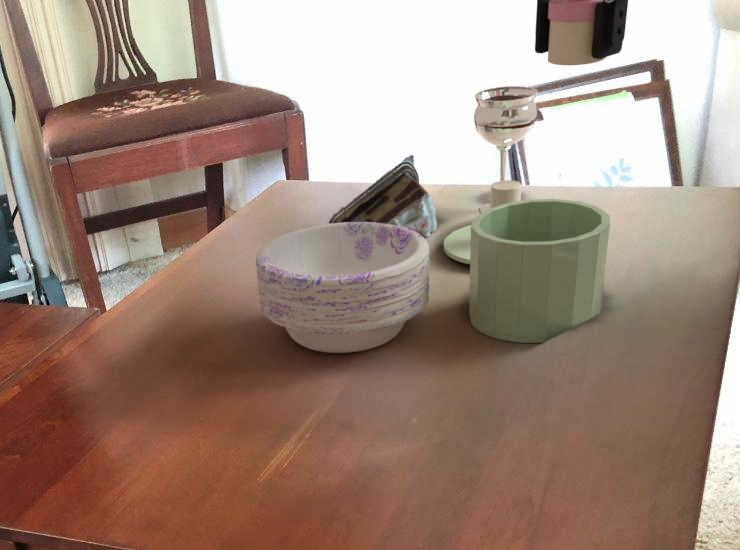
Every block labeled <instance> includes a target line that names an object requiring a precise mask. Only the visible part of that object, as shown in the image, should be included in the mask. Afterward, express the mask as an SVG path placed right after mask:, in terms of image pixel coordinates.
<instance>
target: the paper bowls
mask: <svg viewBox="0 0 740 550" xmlns="http://www.w3.org/2000/svg"><path fill="white" fill-rule="evenodd" d="M255 268H256V275H257V289H258V290H257V291H258V296H259V305H260V309H261V312H262V315H264V317H266V318H267V319H268V320H270V321H271V322H272V323H273V324H276V325H278V326H280V327H282V328H284V329H285V330H286V331H287V333H288V335H289V336H290V338H291V339H292V340H293V341H295V342H296V344H298V345H300V346H301V347H304V348H306V349H309V350H313V351H315V352H316V351H317V352H322V353H330V354H346V353H347V354H348V353H349V354H350V353H356V352H363V351H367V350H371V349H374V348H377V347H379V346H382V345H384V344H386V343H388V342H389V341H392V340H393V339H394V338H395V337H396V336H397V335H398V334H399V333H400V332H401V331H402V330H403V329H402V328H403V327H404V325H405V323H406V321H409V320H410V319H412V318H414V317H415V316H417V315H418V314H419V313H421V312H422V311H423V310H424V309H425V308H426V306H427V305H428V303H429V302H430V246H429V243H428V241H427V240H426V237H424V236H422V235H421V234H419V233H417V232H415V231H413V230H410V229H408V228H404V227H400V226H396V225H390V224H385V223H375V222H343V223H331V224H328V223H323V224H318V225H317V224H316V225H311V226H307V227H303V228H298V229H295V230H291V231H289V232H286V233H283V234H280V235H278V236H276V237H274V238H272V239H271V240H269V241H267V242H266V243H265V244H263V245H262V246H261V247H260V248H259V250H258V251H257V254H256V257H255Z"/></svg>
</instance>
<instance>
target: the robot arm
mask: <svg viewBox="0 0 740 550" xmlns="http://www.w3.org/2000/svg"><path fill="white" fill-rule="evenodd" d="M549 1H550V0H536V16H535V32H534V33H535V38H534V39H535V40H534V52H535V53H536V54H545V53H548V48H549V32H550V19H548V9H549ZM628 7H629V0H603V1H602V2H599V3H597V5H596V8H595V18H594V29H593V41H592V52H591V55H592V56H593V58H594V59H602V58H605V57H606V58H608V57H611V56H614V55H617V54H619V53H621V51H622V49H623V43H624V39H625V35H626V24H627V16H628ZM606 58H605V59H606Z"/></svg>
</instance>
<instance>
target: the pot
mask: <svg viewBox="0 0 740 550" xmlns="http://www.w3.org/2000/svg"><path fill="white" fill-rule="evenodd" d="M470 225H471V249H470V264H469V300H468V301H469V304H468V305H469V307H468V316H469V321H470V323H471V325H472V326H473V328H474V329H475V330H477V331H478V332H480V333H482V334H484V335H485V336H488V337H491V338H493V339H497V340H501V341H506V342H512V343H521V344H542V343H547V342H548V341H551V340H552V339H554V338H556V337H558V336H560V335H562V334H564V333H565V332H568V331H569V330H571V329H573V328H576V327H577V326H579V325H581V324H583V323H584V322H586V321H589V320H591V319H592V318H594V317H596V316H598V315H600V314H601V310H602V301H603V300H602V299H603V290H604V283H605V282H604V281H605V274H606V273H605V272H606V263H607V254H608V247H609V237H610V227H611V219H610V214H609V213H608V212H606V211H605V210H604V209H602V208H600V207H599V206H597V205H593V204H590V203H586V202H583V201H579V200H569V199H560V198H540V199H539V198H538V199H524V200H521V201H518V202H512V203H505V204H502V205H499V206H496V207H493V208H490V209H487V210H484V211H483V212H480V213H479V214H477V215H476V216H473V218H472V222H471V224H470Z"/></svg>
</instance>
